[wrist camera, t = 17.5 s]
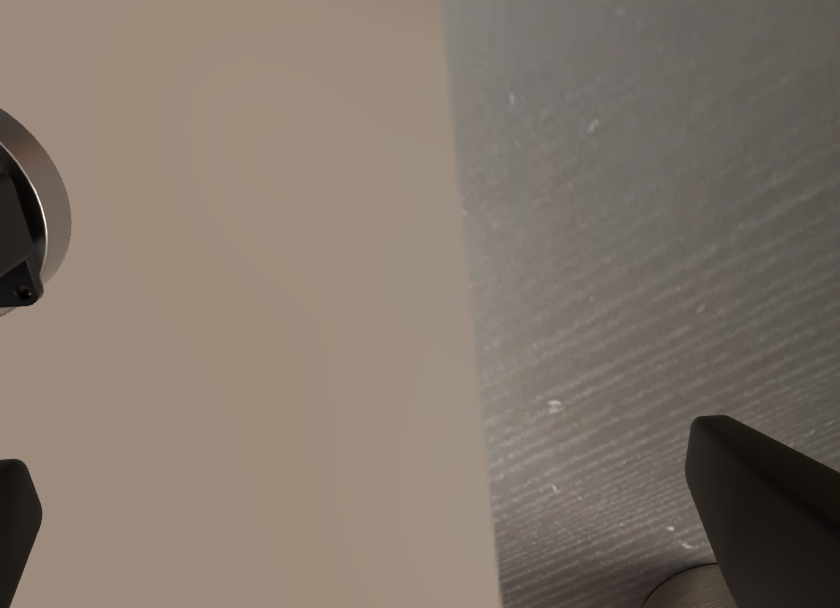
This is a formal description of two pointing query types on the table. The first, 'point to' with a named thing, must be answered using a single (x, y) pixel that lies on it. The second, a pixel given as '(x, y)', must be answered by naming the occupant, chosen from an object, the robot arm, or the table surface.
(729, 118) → the table surface
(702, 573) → the grey and red cylinder
